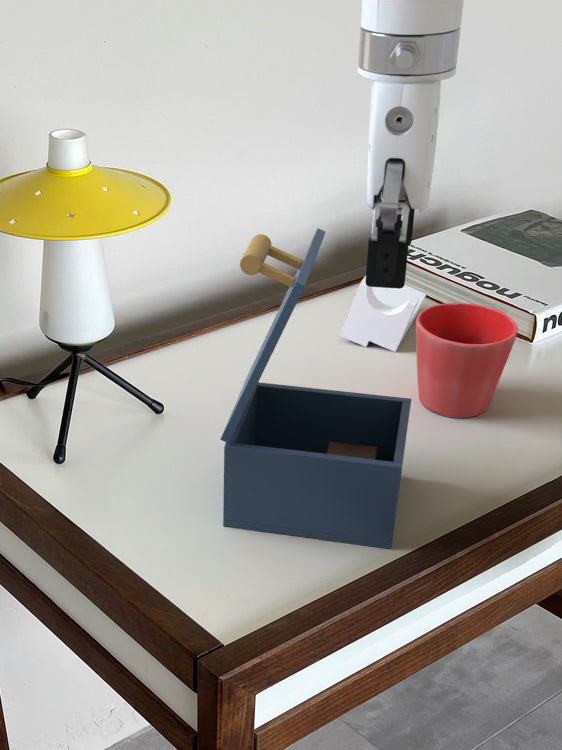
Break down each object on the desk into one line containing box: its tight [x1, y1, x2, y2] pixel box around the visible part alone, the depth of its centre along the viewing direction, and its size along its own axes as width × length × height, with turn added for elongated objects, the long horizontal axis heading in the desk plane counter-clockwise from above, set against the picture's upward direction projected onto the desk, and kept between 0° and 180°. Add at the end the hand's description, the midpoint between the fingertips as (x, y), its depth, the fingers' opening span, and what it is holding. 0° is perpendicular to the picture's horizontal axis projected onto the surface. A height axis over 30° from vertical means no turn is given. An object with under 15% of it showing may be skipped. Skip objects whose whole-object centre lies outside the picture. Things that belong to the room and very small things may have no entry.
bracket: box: [340, 275, 427, 353], centre depth 128 cm, size 13×7×8 cm, turn 157°
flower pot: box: [415, 302, 519, 419], centre depth 111 cm, size 11×11×10 cm
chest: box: [222, 381, 412, 550], centre depth 96 cm, size 16×13×9 cm
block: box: [326, 442, 378, 460], centre depth 96 cm, size 5×5×5 cm
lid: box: [220, 228, 326, 444], centre depth 90 cm, size 16×13×6 cm
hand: (389, 264), depth 88 cm, fingers open, 9 cm apart
